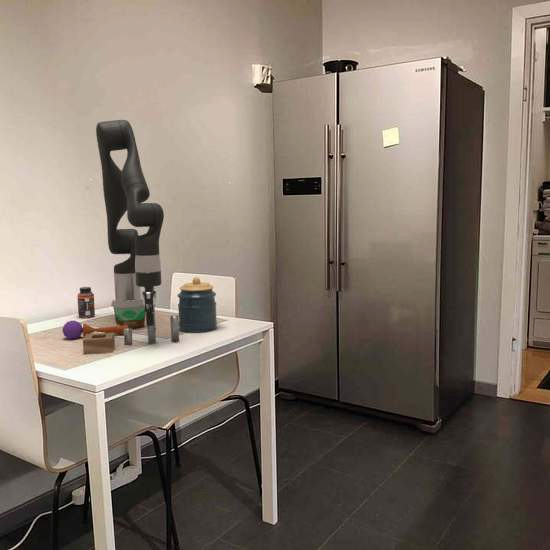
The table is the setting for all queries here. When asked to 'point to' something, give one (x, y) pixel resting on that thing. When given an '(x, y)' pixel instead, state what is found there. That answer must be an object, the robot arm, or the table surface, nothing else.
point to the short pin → (128, 336)
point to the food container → (129, 313)
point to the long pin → (152, 331)
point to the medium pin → (174, 328)
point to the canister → (197, 307)
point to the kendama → (88, 329)
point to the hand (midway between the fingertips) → (150, 322)
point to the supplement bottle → (86, 303)
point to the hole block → (98, 343)
